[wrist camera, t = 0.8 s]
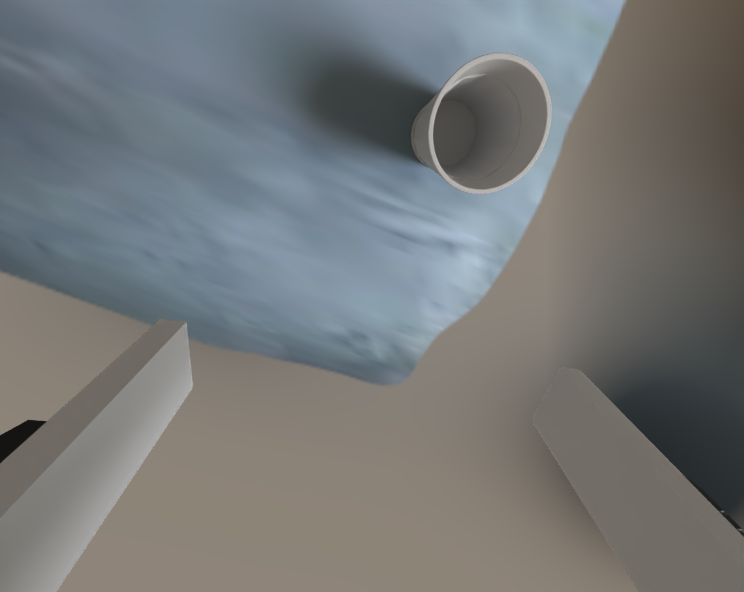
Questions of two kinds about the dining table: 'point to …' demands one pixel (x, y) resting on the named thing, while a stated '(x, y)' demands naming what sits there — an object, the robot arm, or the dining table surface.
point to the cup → (485, 124)
